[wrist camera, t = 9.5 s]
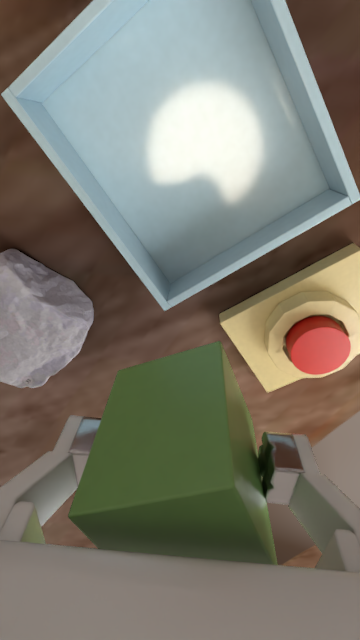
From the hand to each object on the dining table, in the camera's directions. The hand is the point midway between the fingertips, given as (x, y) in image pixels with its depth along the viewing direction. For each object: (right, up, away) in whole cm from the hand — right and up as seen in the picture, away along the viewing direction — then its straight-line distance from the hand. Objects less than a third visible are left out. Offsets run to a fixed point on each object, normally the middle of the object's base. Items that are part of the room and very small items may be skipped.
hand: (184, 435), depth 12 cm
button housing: (+11, +4, +17) cm, 20 cm away
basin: (+1, +16, +11) cm, 20 cm away
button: (+11, +3, +14) cm, 18 cm away
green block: (0, +1, +2) cm, 2 cm away
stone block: (-14, +4, +18) cm, 23 cm away
